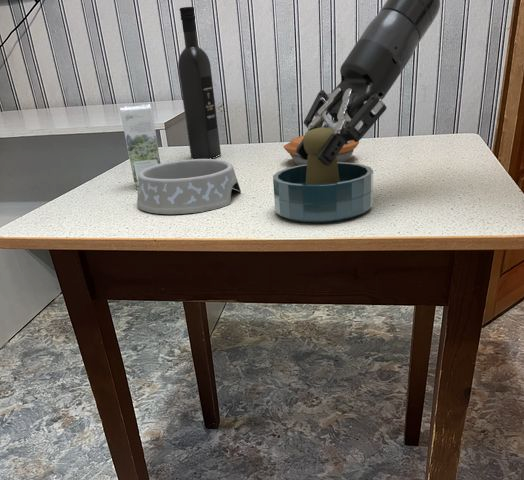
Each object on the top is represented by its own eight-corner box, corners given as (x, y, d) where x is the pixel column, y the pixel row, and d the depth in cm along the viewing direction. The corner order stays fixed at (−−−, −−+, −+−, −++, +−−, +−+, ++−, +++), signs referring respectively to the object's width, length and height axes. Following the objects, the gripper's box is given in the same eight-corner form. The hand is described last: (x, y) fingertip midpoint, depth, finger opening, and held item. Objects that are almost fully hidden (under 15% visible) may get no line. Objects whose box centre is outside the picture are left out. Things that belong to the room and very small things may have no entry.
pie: (369, 153, 115) (369, 128, 112) (344, 170, 103) (343, 143, 101) (303, 153, 122) (301, 129, 119) (272, 168, 110) (270, 143, 107)
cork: (333, 212, 78) (331, 132, 72) (296, 209, 81) (291, 132, 75) (349, 201, 82) (349, 124, 77) (314, 198, 85) (311, 124, 80)
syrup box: (163, 180, 109) (150, 102, 102) (165, 186, 104) (151, 105, 97) (135, 184, 108) (119, 105, 101) (135, 190, 103) (119, 108, 96)
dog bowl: (249, 184, 100) (246, 154, 97) (223, 214, 84) (218, 179, 82) (163, 187, 103) (158, 158, 101) (123, 216, 88) (116, 182, 85)
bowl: (346, 192, 89) (345, 158, 87) (390, 213, 77) (391, 174, 75) (263, 206, 86) (260, 171, 83) (295, 231, 74) (293, 191, 71)
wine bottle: (223, 155, 127) (205, 5, 112) (209, 160, 123) (189, 6, 108) (203, 155, 130) (184, 8, 115) (189, 160, 126) (167, 9, 110)
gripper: (334, 38, 79) (269, 137, 80) (400, 34, 68) (323, 148, 69) (362, 74, 84) (300, 167, 85) (428, 76, 73) (356, 183, 74)
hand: (311, 158), depth 77 cm, fingers closed on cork, 5 cm apart
